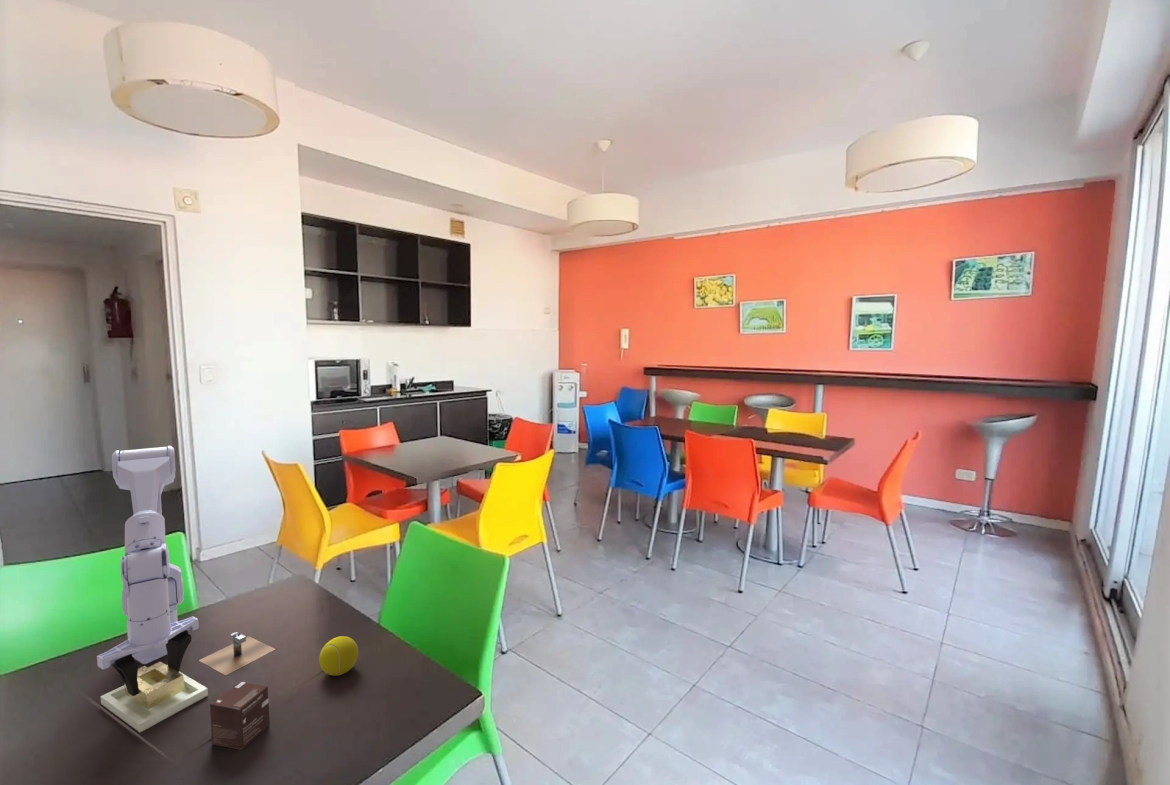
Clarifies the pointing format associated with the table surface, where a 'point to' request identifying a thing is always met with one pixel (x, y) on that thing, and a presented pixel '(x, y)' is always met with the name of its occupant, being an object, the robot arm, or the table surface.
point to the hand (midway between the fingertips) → (154, 683)
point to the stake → (237, 642)
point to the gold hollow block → (163, 690)
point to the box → (239, 715)
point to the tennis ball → (338, 655)
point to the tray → (146, 718)
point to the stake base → (229, 663)
